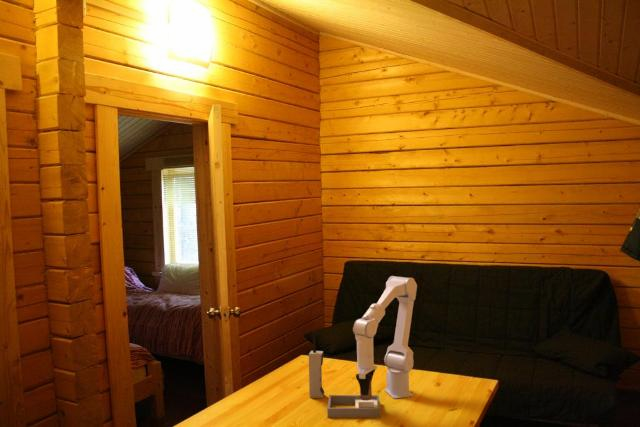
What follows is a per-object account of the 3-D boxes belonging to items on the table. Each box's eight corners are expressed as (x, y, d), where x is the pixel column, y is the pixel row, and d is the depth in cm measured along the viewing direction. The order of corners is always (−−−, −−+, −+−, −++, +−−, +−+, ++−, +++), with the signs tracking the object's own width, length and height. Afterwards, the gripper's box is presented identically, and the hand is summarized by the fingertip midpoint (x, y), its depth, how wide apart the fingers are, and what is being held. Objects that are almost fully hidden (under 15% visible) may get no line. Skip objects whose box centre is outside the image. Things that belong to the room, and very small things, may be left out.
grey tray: (327, 417, 176) (327, 408, 176) (329, 403, 188) (329, 395, 188) (380, 417, 175) (380, 408, 175) (379, 403, 187) (378, 395, 187)
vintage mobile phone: (322, 398, 193) (321, 331, 192) (309, 397, 194) (307, 331, 193) (324, 394, 197) (323, 329, 196) (311, 394, 198) (310, 329, 197)
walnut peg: (358, 397, 182) (357, 375, 182) (367, 395, 184) (366, 372, 184) (364, 401, 179) (363, 378, 178) (374, 398, 181) (373, 376, 180)
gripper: (373, 360, 173) (374, 401, 173) (379, 348, 187) (380, 385, 187) (352, 359, 175) (353, 399, 175) (360, 347, 189) (360, 384, 189)
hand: (366, 392), depth 181 cm, fingers closed on walnut peg, 4 cm apart
